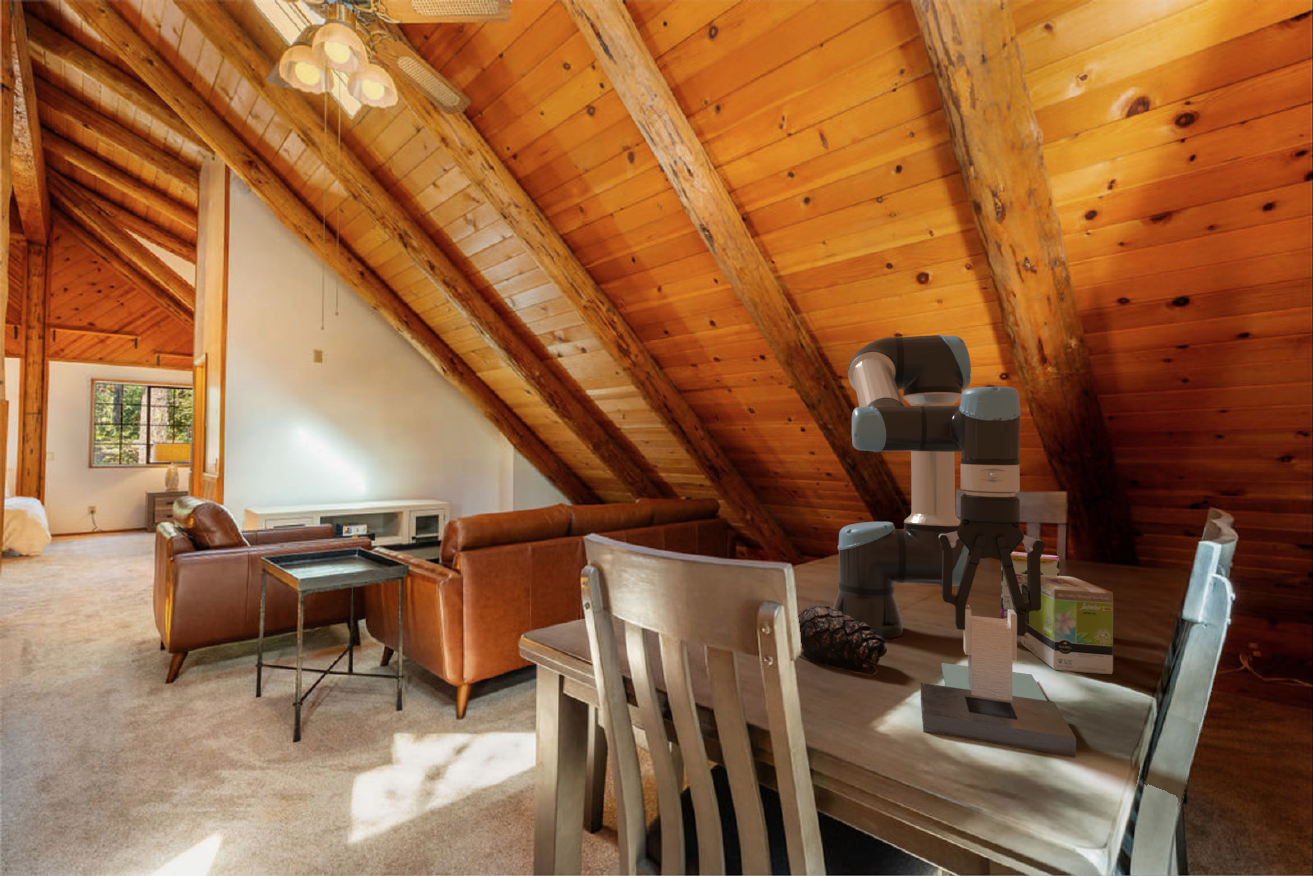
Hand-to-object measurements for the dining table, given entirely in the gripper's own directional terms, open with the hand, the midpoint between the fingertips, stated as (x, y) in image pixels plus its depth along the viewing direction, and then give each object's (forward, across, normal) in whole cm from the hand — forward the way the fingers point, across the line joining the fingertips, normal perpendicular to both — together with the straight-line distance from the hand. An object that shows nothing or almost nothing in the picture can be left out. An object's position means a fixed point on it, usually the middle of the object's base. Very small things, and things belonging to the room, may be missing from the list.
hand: (989, 654), depth 86 cm
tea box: (+11, +17, +37) cm, 42 cm away
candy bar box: (+11, +15, +58) cm, 61 cm away
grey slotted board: (+10, 0, 0) cm, 10 cm away
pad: (+10, +2, +16) cm, 19 cm away
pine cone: (+11, -22, +18) cm, 31 cm away
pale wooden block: (+5, 0, 0) cm, 5 cm away
